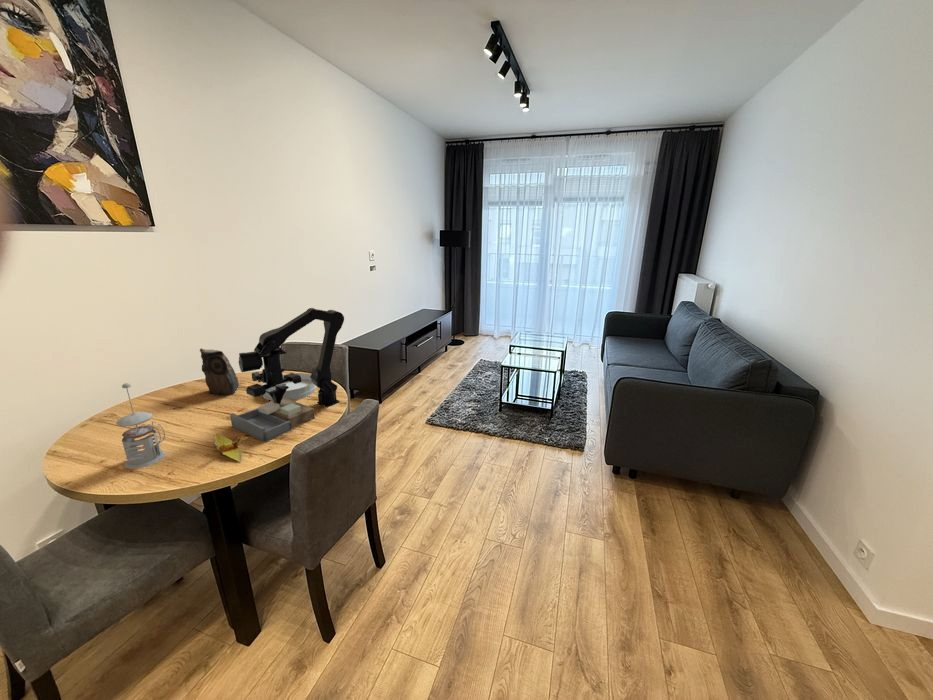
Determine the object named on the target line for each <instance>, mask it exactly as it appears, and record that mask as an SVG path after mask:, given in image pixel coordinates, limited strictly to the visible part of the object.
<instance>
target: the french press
mask: <svg viewBox="0 0 933 700" xmlns="http://www.w3.org/2000/svg"><path fill="white" fill-rule="evenodd" d="M131 387H132V385H131V384H130V383H129V382H127V383H123V384H122V385H121V388H122V389H126V392H127V396H128V399H129V403H130V404H129V405H130V407H131V413H128V414H126V415H124V416H123V417H121V418H120V419H117V421H116V422H115V424H116V425H117V426H119V427H123V428H126V427H132V428H129V429H127V430H125V431H124V432H123V433H122V435H121V436H122V437H123V438H122V439H121V442H122V447H123V448H124V452H125V453H124V454H125V456H126V459H127V460H126V461H125V462H124V464H123V467H124V468H126V469H131V470H135V469H142V468H145V467H149V466H151V465H154V464H156V463H158V462H160V461H162V460H163V459H164V458H165V457H166V455H167V454H166V452H165V451H164V450H161V447H160V443H162V442H163V441H164V440H165V437H166V432H165V429H164V427H163V426H162V425H161V424H160V423H158V422H156V421H151V423H150V424H149V423H148V424H147V425H141V426H139V425H140V424H144V423H147V422H148V421H150V420H151V419H152V418H153V413H150V412H145V411H144V412H143V411H138V412H135V411H134V408H133V404H132V401H131V397H130V393H129V388H131ZM154 424H157V425H158V426H159V428H161V429H162V431H163V438H162V436H161V433H160V430H159V429H158V428H157V427H156V426H155V425H154ZM133 426H136V427H133ZM157 432H158V434H157ZM151 433H153V434H151ZM148 434H149V435H148ZM158 436H159V438H158ZM139 438H140V439H139Z"/></svg>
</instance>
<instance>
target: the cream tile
mask: <svg viewBox="0 0 933 700" xmlns="http://www.w3.org/2000/svg"><path fill="white" fill-rule="evenodd" d="M257 408H259V412H261V413H264V414H267V415H268V414H270V413H273V412H275V411H277V410H279V409H280V406H279V404H277V403H274V401H269V402H266V403H264V404H262V405H260V406H258V407H257Z"/></svg>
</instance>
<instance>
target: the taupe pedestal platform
mask: <svg viewBox="0 0 933 700" xmlns="http://www.w3.org/2000/svg"><path fill="white" fill-rule="evenodd" d="M273 402H274V401H273ZM274 403H275V402H274ZM291 403H293V404H296V405H299V406H301V411H300V412H298V413H295V414H293V415H291V416H287V415H285V414H282V413H281V412H280V409H279V410H277V411H275V412H273V413H270V414H271V415H274V416H276V417H279V418H281V419H283V420H286V421H291V429H293V428H295V427H298V426H301V425H302V424H304V423H307V422H309V421H311V420H313V419H315V408H314V407H311V406H308V405H305V404H303V403H301V402H297V401H296V400H293V401H292V400H289V399H286V398H283V399H282V400H281V403H280V405H279V406H280V408H281V407H284V406H286V405H289V404H291Z"/></svg>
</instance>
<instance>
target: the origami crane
mask: <svg viewBox="0 0 933 700" xmlns="http://www.w3.org/2000/svg"><path fill="white" fill-rule="evenodd" d="M214 436H215V437H214V439H215V440H214V441H215V442H213V443H212V445H213V447H214V448H216V449H217V450H218V451H219V452H220V453H219V454H220V455H221V456H223V455H224V456H227V457H228V458H231V459H232V460H234V461H235V460H236V462H239V463H242V448H240V447H239V446H240V445H241V444H240V443H241V442H242V441H246V440H247V439H248V438H249V437H248V435H240V436H239V437H236V438H237V439H236V440H235V441H233V440H231V439H230V438H227V437H224V436H223V435H220V434H219V433H217V432H215V435H214Z"/></svg>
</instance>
